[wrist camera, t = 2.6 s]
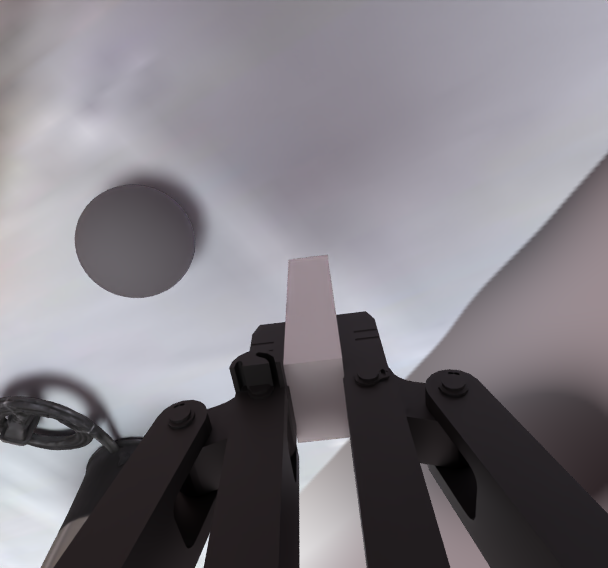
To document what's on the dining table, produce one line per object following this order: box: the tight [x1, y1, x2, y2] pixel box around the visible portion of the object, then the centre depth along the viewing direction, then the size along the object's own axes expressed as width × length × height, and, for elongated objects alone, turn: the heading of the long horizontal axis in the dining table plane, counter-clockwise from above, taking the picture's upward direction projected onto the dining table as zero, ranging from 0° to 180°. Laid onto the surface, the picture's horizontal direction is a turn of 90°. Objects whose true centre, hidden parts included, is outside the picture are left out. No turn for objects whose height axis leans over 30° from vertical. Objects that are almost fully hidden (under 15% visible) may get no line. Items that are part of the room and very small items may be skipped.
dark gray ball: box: [75, 185, 195, 298], centre depth 24 cm, size 6×6×6 cm
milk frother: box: [0, 396, 142, 568], centre depth 29 cm, size 14×16×15 cm
